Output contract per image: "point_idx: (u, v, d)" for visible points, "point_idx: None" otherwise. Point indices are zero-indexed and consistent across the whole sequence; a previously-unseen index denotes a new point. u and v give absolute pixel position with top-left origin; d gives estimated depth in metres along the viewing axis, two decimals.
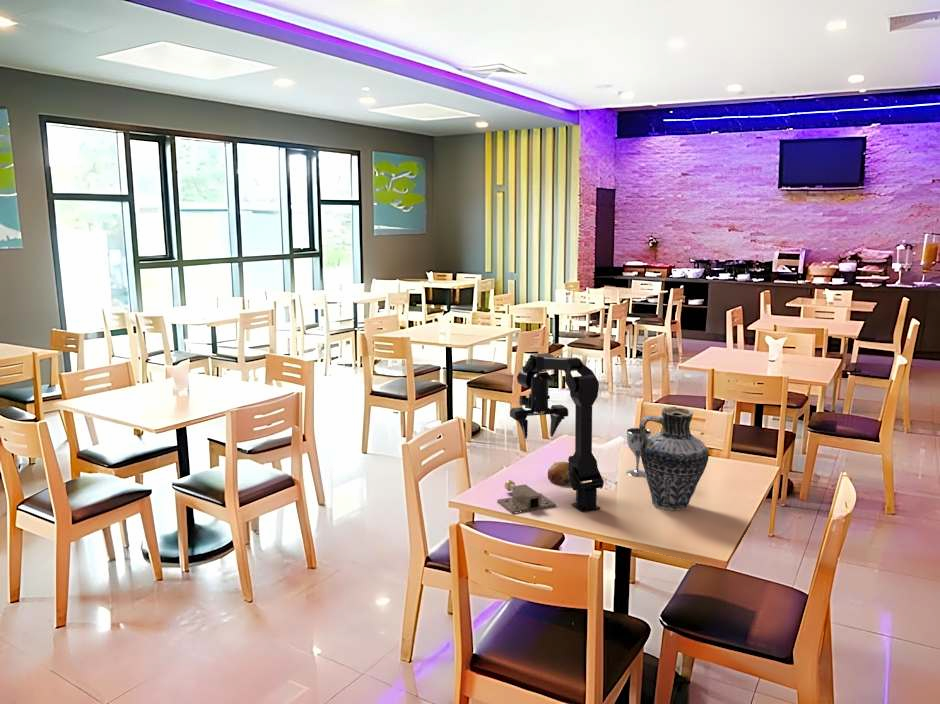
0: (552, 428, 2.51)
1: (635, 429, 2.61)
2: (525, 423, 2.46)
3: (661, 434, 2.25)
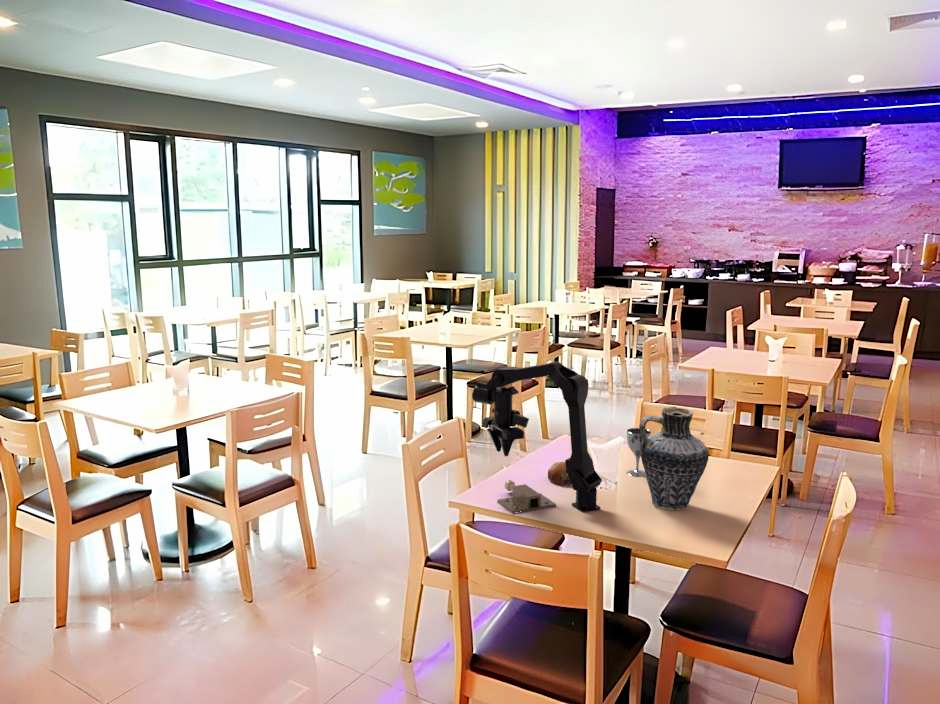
0: None
1: (635, 429, 2.61)
2: (490, 433, 2.45)
3: (661, 434, 2.25)
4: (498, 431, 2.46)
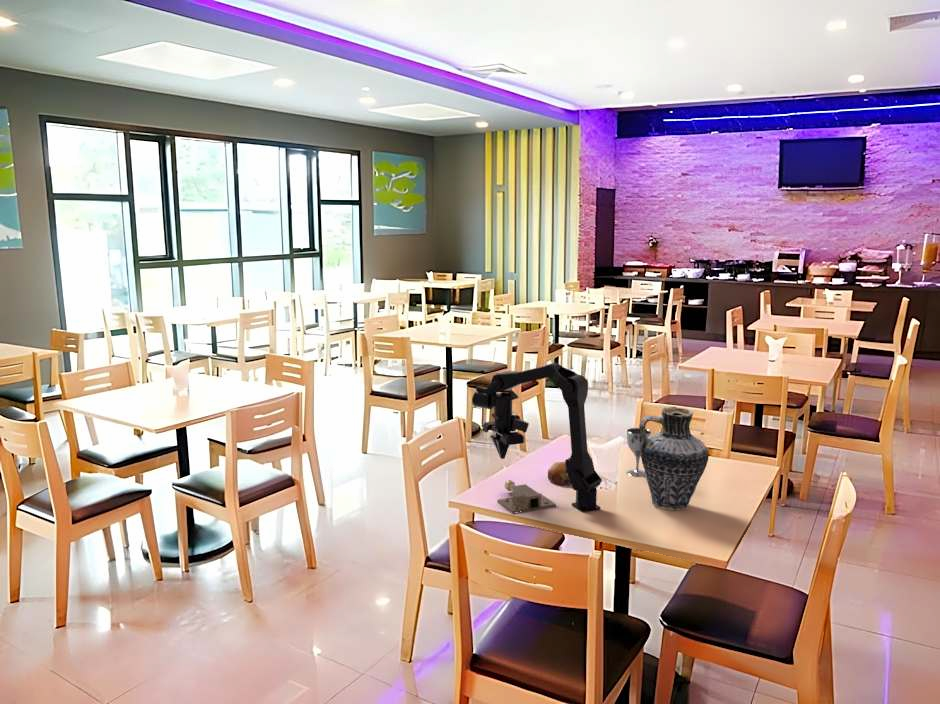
0: None
1: (635, 429, 2.61)
2: (493, 440, 2.43)
3: (661, 434, 2.25)
4: None
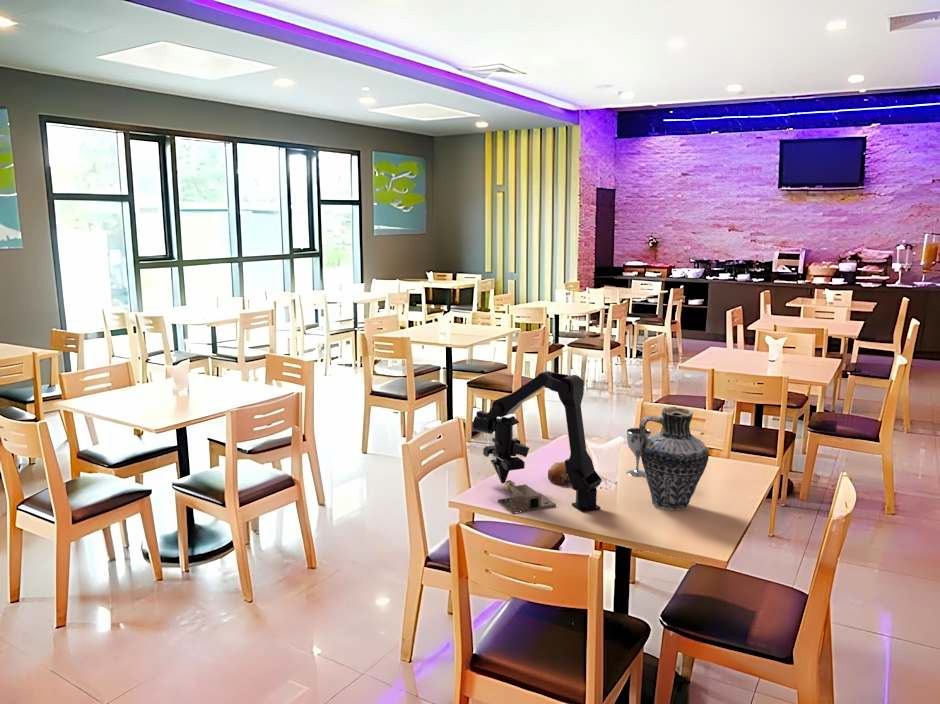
0: None
1: (635, 429, 2.61)
2: (493, 465, 2.44)
3: (661, 434, 2.25)
4: (502, 462, 2.44)
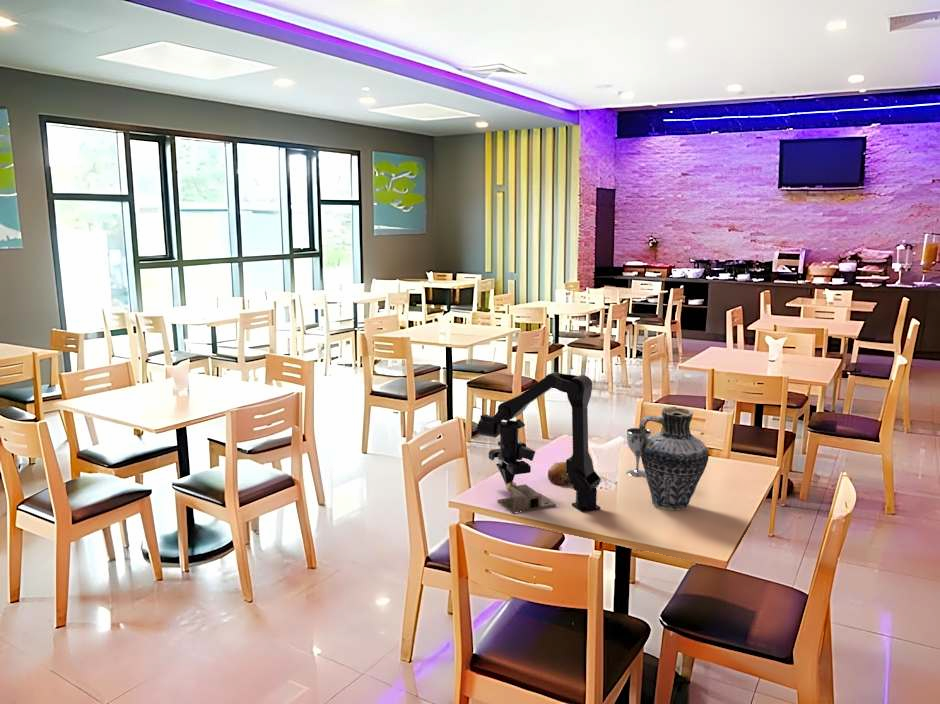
0: None
1: (635, 429, 2.61)
2: (499, 468, 2.40)
3: (661, 434, 2.25)
4: None
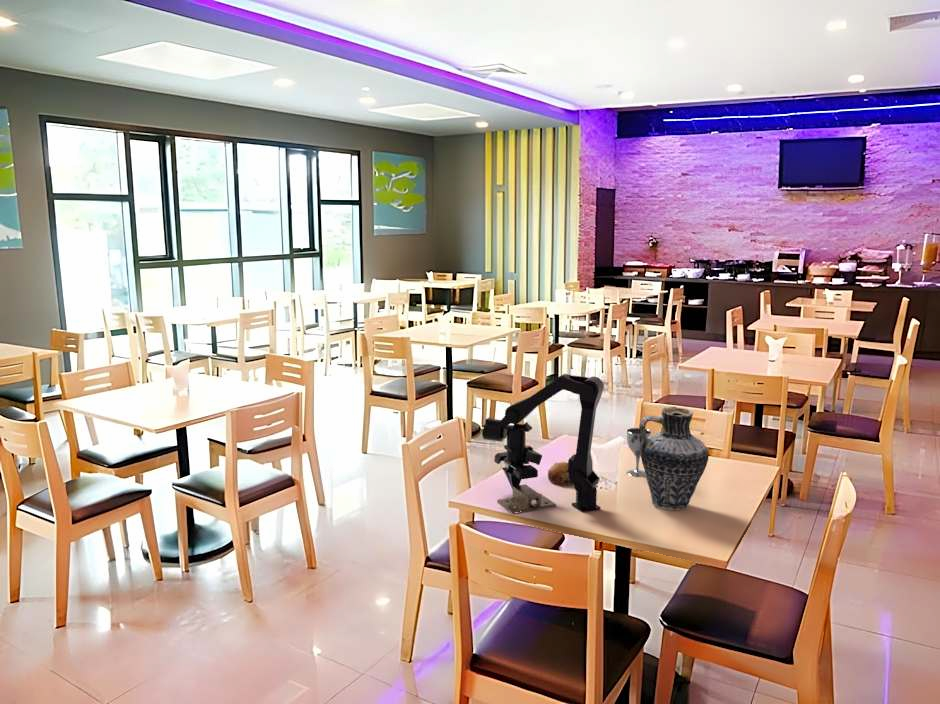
0: None
1: (635, 429, 2.61)
2: (505, 472, 2.36)
3: (661, 434, 2.25)
4: None
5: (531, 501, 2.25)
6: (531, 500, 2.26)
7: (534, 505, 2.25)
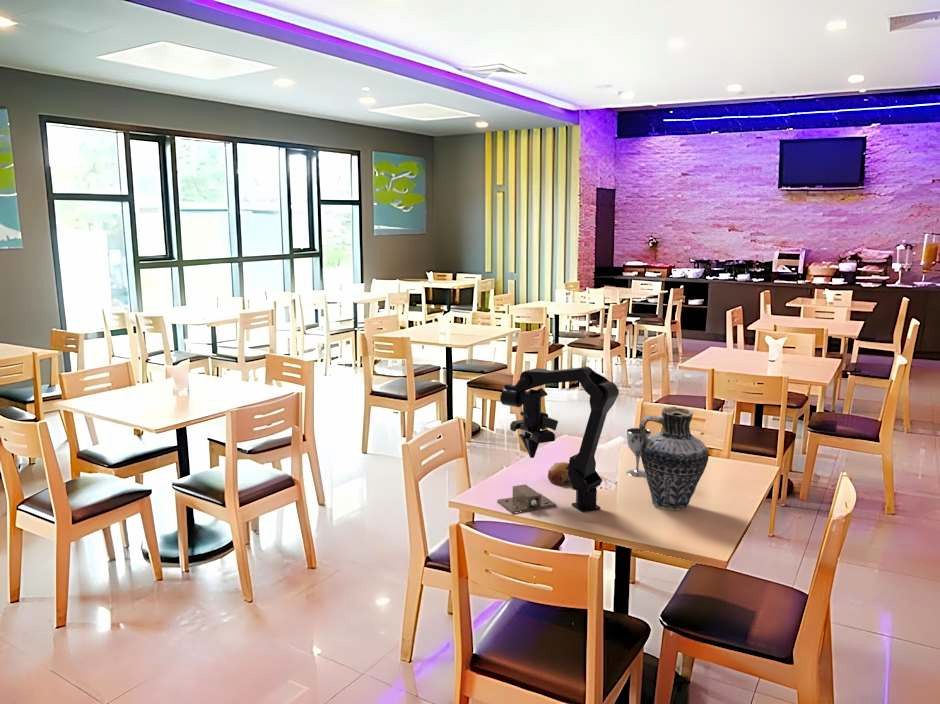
0: None
1: (635, 429, 2.61)
2: (522, 439, 2.38)
3: (661, 434, 2.25)
4: None
5: (531, 501, 2.25)
6: (531, 500, 2.26)
7: (534, 505, 2.25)
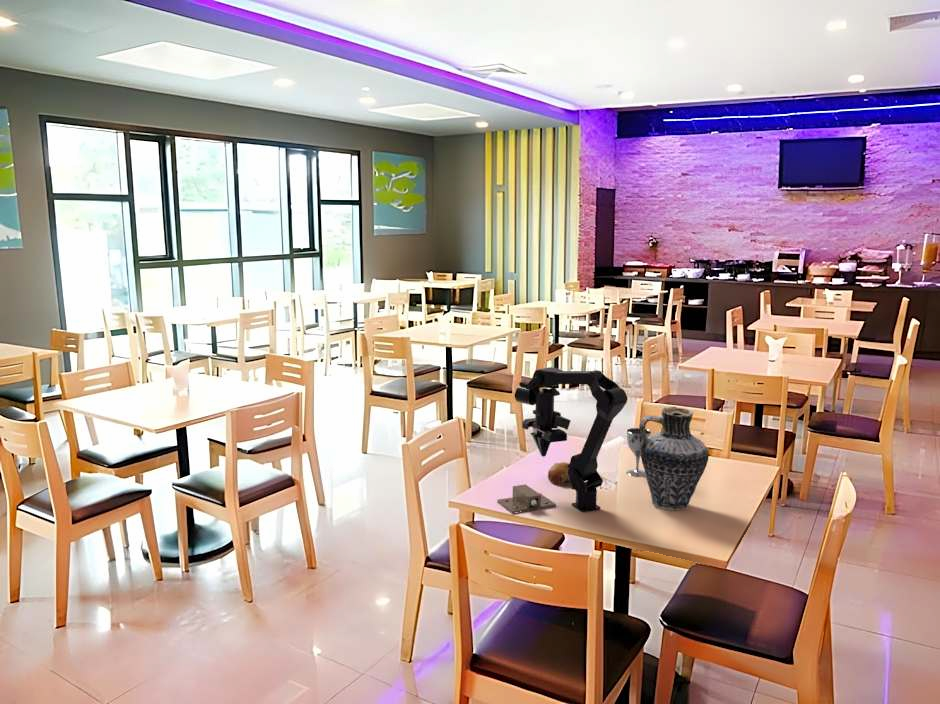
0: None
1: (635, 429, 2.61)
2: (534, 437, 2.37)
3: (661, 434, 2.25)
4: None
5: (531, 501, 2.25)
6: (531, 500, 2.26)
7: (534, 505, 2.25)
